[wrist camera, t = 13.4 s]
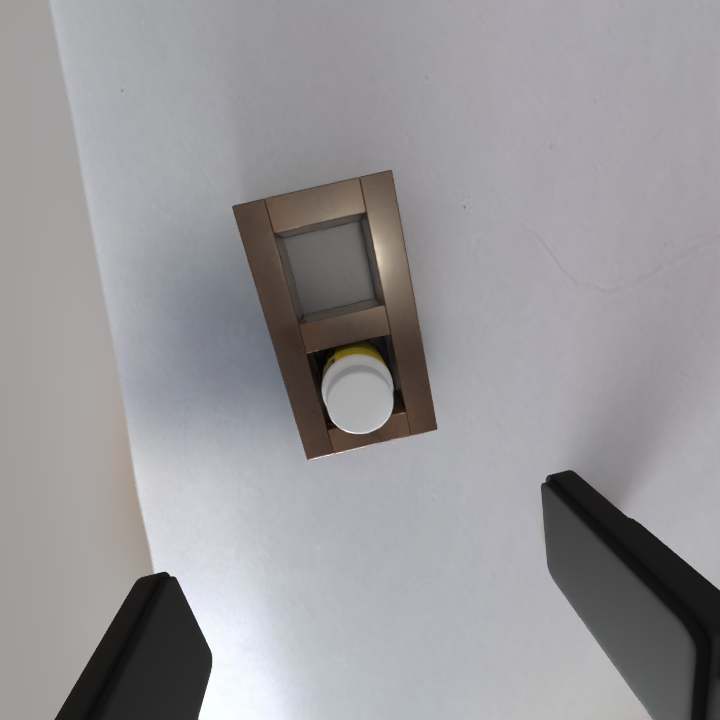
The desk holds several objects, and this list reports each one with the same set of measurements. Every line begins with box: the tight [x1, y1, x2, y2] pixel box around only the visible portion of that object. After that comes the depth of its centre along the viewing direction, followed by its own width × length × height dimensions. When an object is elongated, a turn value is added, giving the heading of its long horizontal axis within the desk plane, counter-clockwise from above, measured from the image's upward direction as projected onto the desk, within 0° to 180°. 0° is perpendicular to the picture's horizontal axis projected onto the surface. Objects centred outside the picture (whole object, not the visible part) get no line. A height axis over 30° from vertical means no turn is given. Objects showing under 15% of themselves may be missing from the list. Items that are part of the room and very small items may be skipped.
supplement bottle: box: [322, 340, 394, 434], centre depth 25 cm, size 5×5×8 cm
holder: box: [232, 170, 437, 460], centre depth 26 cm, size 10×18×4 cm, turn 12°
